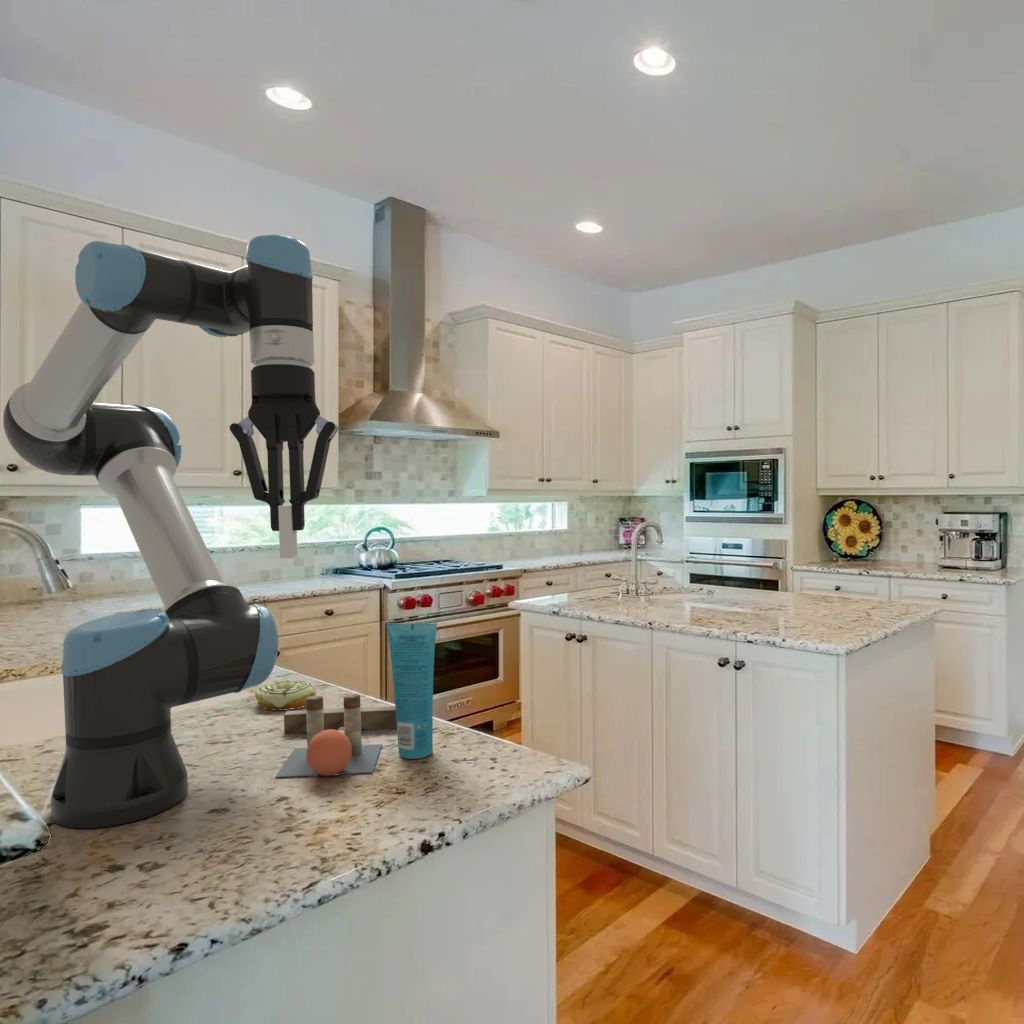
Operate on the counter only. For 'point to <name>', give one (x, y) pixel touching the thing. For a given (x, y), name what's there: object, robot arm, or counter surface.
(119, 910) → the counter surface
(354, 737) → the rear pin left
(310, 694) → the decorated donut
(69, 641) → the robot arm
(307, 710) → the peg
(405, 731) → the tube
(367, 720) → the back rail
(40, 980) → the counter surface
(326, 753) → the ball
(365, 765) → the plate
